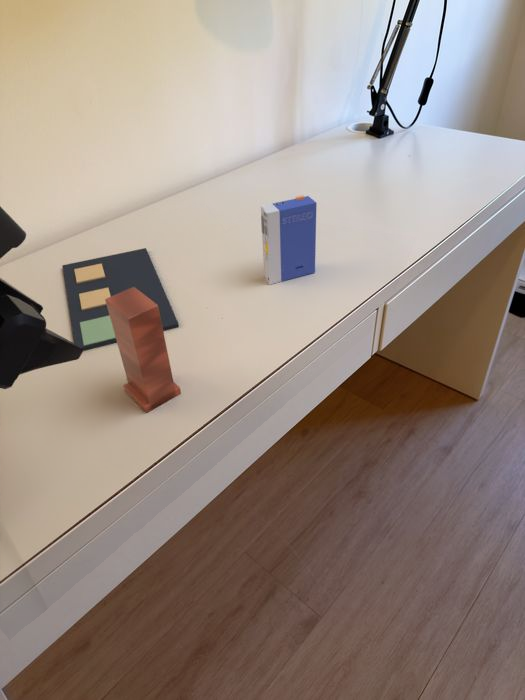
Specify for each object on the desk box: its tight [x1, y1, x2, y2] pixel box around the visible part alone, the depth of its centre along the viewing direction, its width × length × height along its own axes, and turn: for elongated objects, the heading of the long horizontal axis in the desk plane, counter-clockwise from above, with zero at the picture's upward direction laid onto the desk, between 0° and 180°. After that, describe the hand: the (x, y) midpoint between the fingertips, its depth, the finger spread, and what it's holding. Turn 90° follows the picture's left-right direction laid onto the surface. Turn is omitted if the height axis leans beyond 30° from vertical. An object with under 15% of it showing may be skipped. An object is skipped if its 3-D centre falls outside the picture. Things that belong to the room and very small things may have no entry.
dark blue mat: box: [61, 247, 180, 351], centre depth 80 cm, size 24×14×1 cm, turn 21°
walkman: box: [260, 194, 318, 285], centre depth 79 cm, size 8×3×12 cm, turn 112°
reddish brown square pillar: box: [105, 287, 182, 414], centre depth 59 cm, size 5×5×13 cm
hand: (59, 331), depth 51 cm, fingers open, 9 cm apart
